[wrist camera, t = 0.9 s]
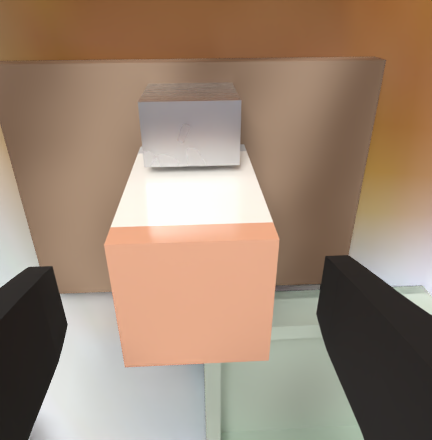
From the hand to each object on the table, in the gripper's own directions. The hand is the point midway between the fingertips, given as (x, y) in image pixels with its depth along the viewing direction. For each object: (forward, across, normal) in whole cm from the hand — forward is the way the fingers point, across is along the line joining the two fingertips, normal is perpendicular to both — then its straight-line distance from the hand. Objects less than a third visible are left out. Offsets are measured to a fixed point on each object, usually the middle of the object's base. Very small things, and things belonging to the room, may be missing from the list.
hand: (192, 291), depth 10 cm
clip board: (+7, 0, 0) cm, 7 cm away
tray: (+7, -6, +12) cm, 15 cm away
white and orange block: (+6, 0, 0) cm, 6 cm away
